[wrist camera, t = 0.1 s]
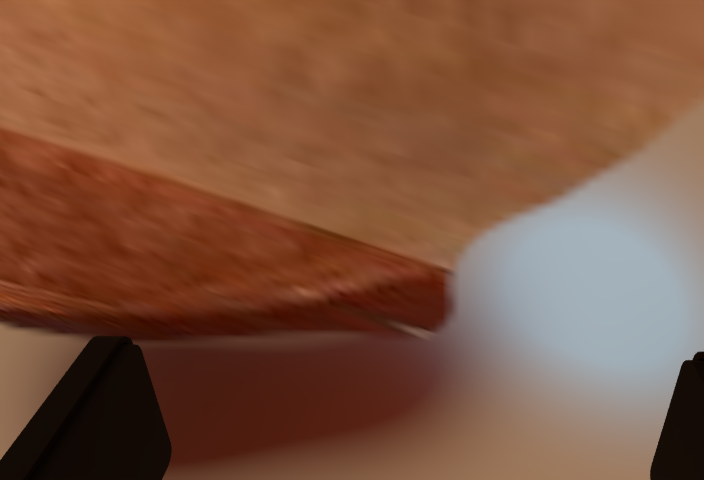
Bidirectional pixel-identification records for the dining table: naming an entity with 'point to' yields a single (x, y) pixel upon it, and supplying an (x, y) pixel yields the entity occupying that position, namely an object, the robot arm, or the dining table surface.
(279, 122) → the dining table surface
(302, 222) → the dining table surface
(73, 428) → the robot arm
